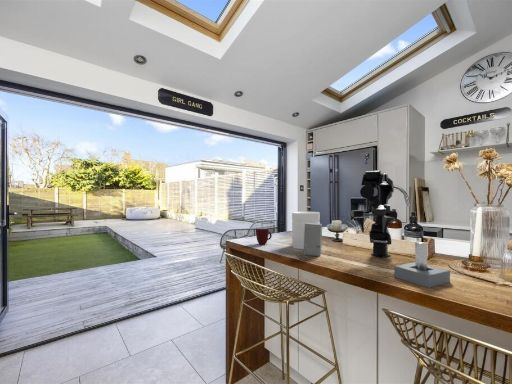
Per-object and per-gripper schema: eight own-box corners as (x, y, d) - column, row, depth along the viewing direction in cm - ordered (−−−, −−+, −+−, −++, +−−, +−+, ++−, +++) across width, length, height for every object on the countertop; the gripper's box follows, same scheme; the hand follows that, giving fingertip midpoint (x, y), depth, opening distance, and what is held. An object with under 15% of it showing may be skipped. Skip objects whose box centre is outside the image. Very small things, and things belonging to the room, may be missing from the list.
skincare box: (303, 255, 124) (303, 223, 124) (306, 252, 131) (306, 222, 131) (320, 256, 121) (320, 224, 121) (322, 253, 128) (322, 222, 128)
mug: (266, 242, 159) (266, 226, 159) (274, 244, 152) (274, 227, 152) (253, 244, 152) (253, 228, 152) (261, 246, 146) (261, 229, 146)
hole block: (415, 272, 96) (415, 262, 96) (450, 282, 85) (449, 270, 85) (394, 276, 91) (394, 265, 91) (428, 287, 80) (428, 275, 80)
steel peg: (416, 277, 91) (416, 241, 91) (428, 279, 88) (427, 242, 88) (414, 279, 88) (414, 243, 88) (426, 281, 86) (426, 244, 86)
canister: (313, 243, 154) (313, 211, 154) (324, 248, 138) (324, 213, 139) (288, 244, 151) (288, 211, 152) (297, 250, 136) (297, 213, 136)
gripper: (357, 198, 105) (357, 235, 105) (403, 198, 103) (404, 235, 103) (350, 198, 116) (350, 231, 116) (391, 198, 114) (391, 231, 114)
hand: (373, 232), depth 112 cm, fingers open, 9 cm apart
